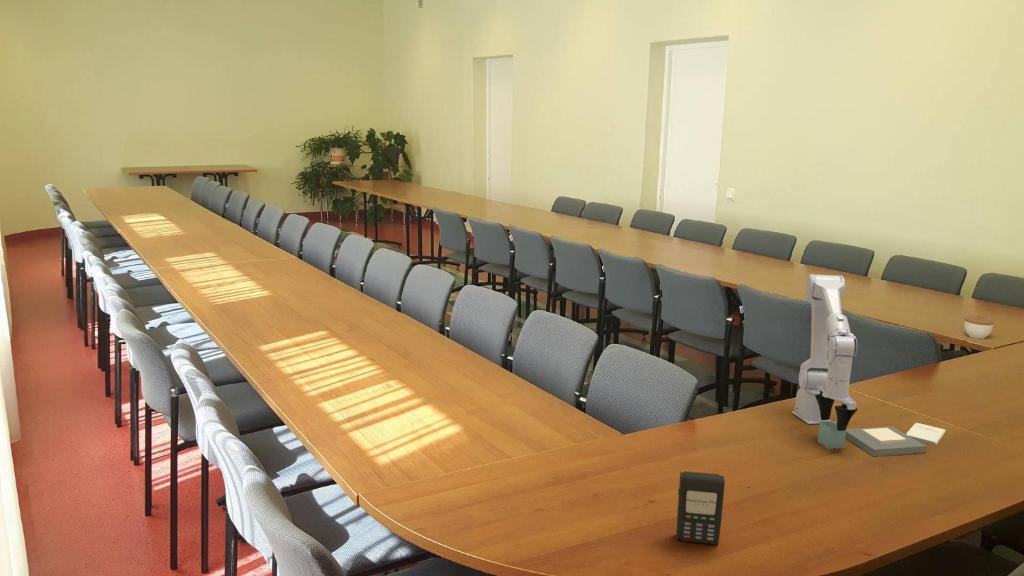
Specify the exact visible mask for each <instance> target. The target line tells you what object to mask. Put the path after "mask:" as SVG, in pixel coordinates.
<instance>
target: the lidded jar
mask: <svg viewBox="0 0 1024 576" xmlns="http://www.w3.org/2000/svg"><path fill="white" fill-rule="evenodd" d="M994 323H995V321H994V320H993V319H991V318H988V317H985V316H984V317H983V316H982V315H981V314H979V315H978V316H977V315H976V316H975V315H974V316H973V315H969V316H965V317H964V325H963V326H964V331H965V332H966V334H967V336H969V337H970V338H972V339H979V340H980V339H986V337H988V336H990V334H991V333H992V331H993V327H994Z"/></svg>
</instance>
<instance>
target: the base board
mask: <svg viewBox="0 0 1024 576" xmlns="http://www.w3.org/2000/svg"><path fill="white" fill-rule="evenodd" d="M847 439H848V441H849V442H850V443H852V444H854V445H855V446H856V447H858V448H860V449H861V450H862V451H864V452H866V453H868V454H869V455H870V454H871V457H873V456H875V457H887V456H900V455H901V454H903V455H912V454H913V453H916V454H925V453H926V450H927V445H925V444H924V443H923V442H920V441H917V440H915V439H913V438H911V437H910V436H908V435H906V433H904V432H903V431H901V430H899V429H898V428H896V427H894V426H893V425H891V426H875V427H863V428H862V427H861V428H859V427H858V428H846V436H845V440H847ZM913 455H914V454H913Z"/></svg>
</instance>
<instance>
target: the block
mask: <svg viewBox="0 0 1024 576" xmlns="http://www.w3.org/2000/svg"><path fill="white" fill-rule="evenodd" d="M845 436H846V430H845V431H838V430H837V420H831V421H825V422H820V423H819V425H818V432H817V440H816V441H818V442H817V443H818V444H820V445H821V444H822V445H821V446H823V448H825V449H827V450H832V449H833V448H835V449H844V448H845V442H846V438H845ZM833 450H834V449H833Z"/></svg>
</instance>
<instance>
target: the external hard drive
mask: <svg viewBox="0 0 1024 576" xmlns="http://www.w3.org/2000/svg"><path fill="white" fill-rule="evenodd" d="M905 434H906V435H908V436H910V437H911V438H913V439H915V440H917V441H918V442H920V441H921V442H920V443H924V442H925V443H924V444H927V443H929V445H931V444H933V445H932V446H935V445H936V446H937V445H938V444H939V442H940V441H941V440H942V438H943V437H944V435H945V434H946V429H944V428H940V427H935V426H932V425H927V424H923V423H920V422H919V423H918V422H915V423H914V424H913V425H912V427H910V429H909V430H908V431H907V432H906V433H905Z"/></svg>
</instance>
